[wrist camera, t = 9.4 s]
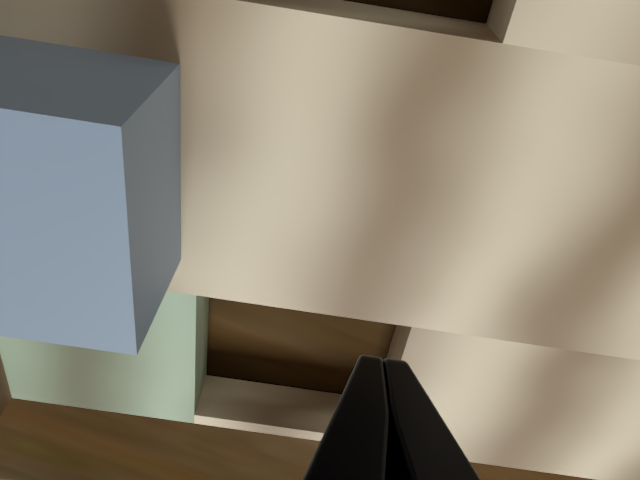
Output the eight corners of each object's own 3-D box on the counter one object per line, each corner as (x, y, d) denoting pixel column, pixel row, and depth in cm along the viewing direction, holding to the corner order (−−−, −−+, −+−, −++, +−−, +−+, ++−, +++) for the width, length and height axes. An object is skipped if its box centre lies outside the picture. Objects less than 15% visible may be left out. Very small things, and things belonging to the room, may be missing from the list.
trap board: (1170, -217, 11) (1460, -248, 8) (648, 445, 23) (689, 527, 20) (-221, -472, 10) (-452, -609, 7) (1, 354, 22) (-52, 425, 20)
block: (179, 63, 13) (121, 126, 10) (181, 259, 17) (137, 355, 13) (-68, 24, 13) (-212, 75, 10) (-17, 230, 17) (-111, 320, 13)
